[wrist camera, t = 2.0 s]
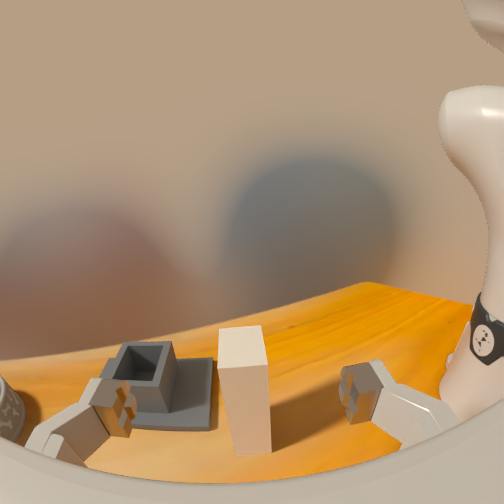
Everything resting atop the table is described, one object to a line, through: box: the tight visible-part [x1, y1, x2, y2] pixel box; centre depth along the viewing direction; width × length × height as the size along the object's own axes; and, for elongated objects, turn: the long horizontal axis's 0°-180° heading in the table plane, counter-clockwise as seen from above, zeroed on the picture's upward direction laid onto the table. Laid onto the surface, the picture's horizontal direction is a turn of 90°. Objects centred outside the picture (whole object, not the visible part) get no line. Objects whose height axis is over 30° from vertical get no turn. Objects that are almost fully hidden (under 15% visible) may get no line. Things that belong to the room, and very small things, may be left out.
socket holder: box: [99, 341, 214, 431], centre depth 35 cm, size 18×14×6 cm
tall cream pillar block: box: [217, 325, 272, 456], centre depth 26 cm, size 4×6×14 cm, turn 4°
